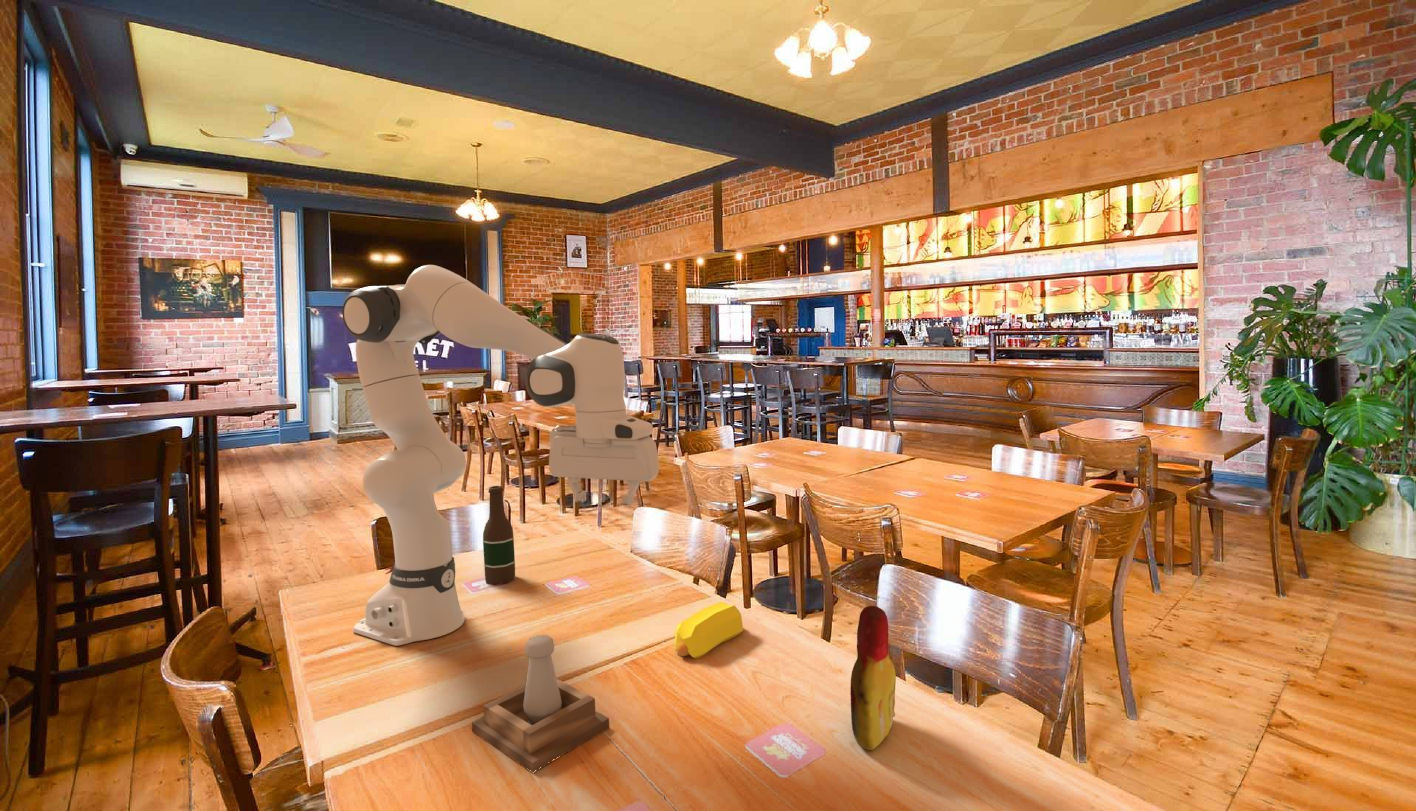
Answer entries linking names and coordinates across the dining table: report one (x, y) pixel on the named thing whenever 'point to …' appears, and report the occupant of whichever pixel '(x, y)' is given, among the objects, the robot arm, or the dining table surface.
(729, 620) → the yellow faceted rounded part
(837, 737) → the dining table surface
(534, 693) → the salt shaker
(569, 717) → the board
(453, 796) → the dining table surface
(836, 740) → the dining table surface
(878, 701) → the bottle
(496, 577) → the beer bottle
